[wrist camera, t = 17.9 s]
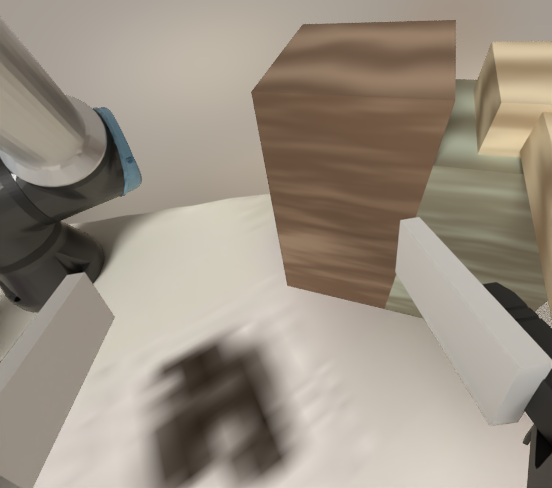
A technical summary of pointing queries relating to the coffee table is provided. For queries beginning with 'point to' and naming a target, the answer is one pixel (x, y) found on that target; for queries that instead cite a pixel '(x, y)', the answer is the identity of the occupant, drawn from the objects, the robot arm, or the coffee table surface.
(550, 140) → the light wooden block
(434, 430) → the coffee table surface
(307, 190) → the stand
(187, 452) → the coffee table surface
